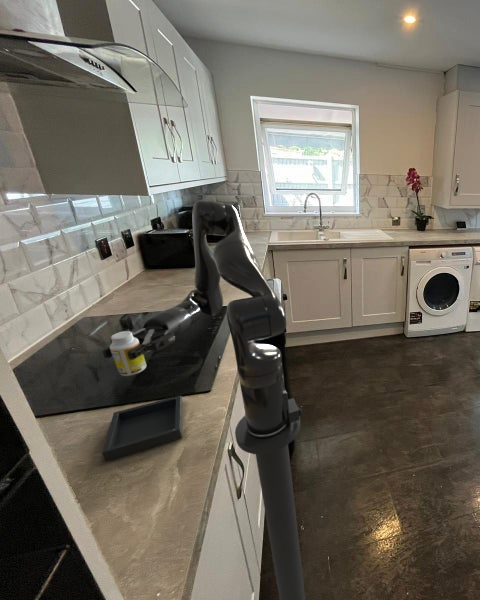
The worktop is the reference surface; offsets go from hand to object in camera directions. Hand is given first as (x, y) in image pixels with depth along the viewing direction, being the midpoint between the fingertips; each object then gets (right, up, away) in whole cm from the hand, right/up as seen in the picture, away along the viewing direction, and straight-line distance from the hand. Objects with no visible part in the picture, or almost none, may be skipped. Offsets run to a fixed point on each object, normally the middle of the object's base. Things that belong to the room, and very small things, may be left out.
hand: (117, 355), depth 77 cm
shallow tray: (+10, -16, -4) cm, 20 cm away
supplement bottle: (0, -5, +5) cm, 7 cm away
